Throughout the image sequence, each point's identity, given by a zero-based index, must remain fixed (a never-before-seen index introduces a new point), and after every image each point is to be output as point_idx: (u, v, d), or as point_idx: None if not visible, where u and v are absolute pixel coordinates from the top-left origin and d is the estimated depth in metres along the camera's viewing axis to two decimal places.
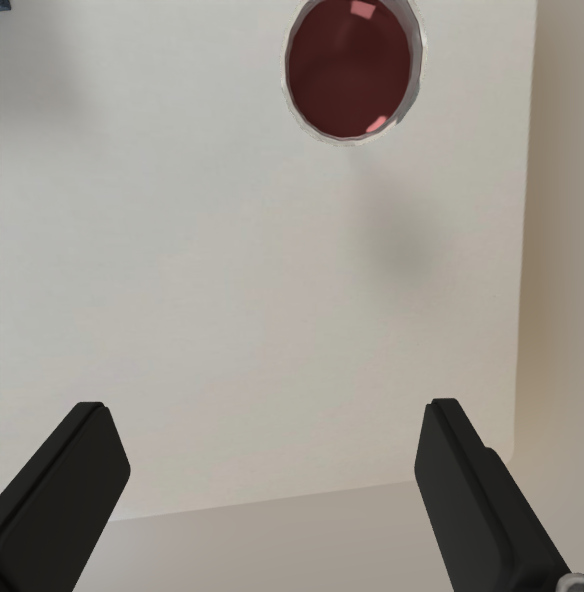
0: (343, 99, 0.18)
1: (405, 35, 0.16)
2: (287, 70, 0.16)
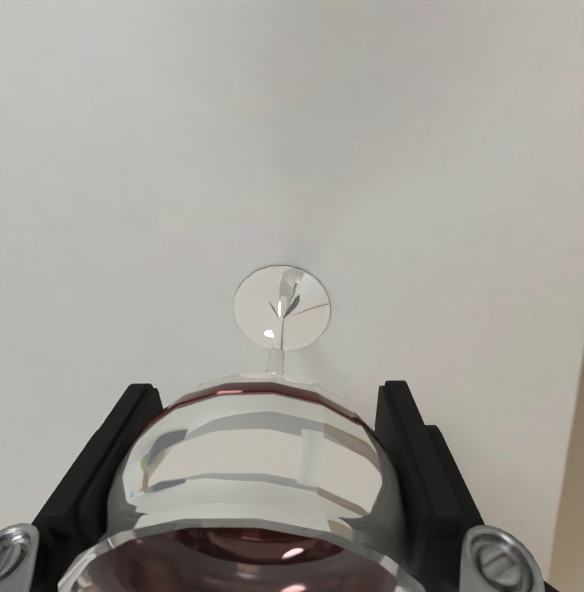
0: None
1: (383, 447, 0.07)
2: (104, 582, 0.07)
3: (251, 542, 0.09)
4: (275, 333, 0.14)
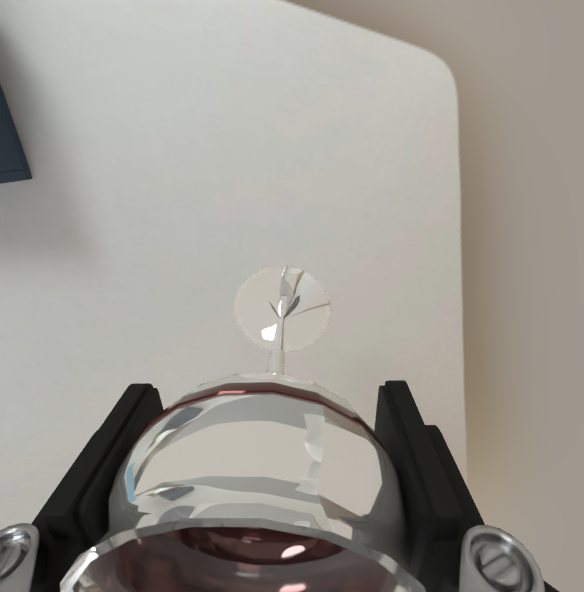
0: None
1: (384, 446, 0.07)
2: (105, 582, 0.07)
3: (252, 542, 0.09)
4: (275, 333, 0.15)
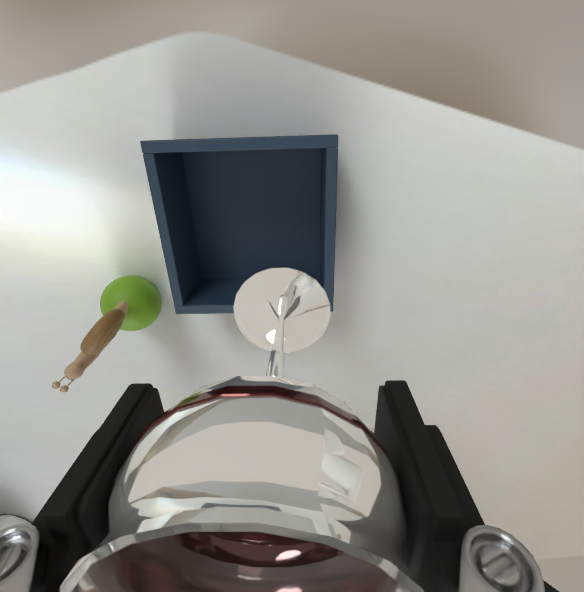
0: None
1: (383, 449, 0.07)
2: (105, 585, 0.07)
3: (252, 544, 0.09)
4: (275, 335, 0.15)
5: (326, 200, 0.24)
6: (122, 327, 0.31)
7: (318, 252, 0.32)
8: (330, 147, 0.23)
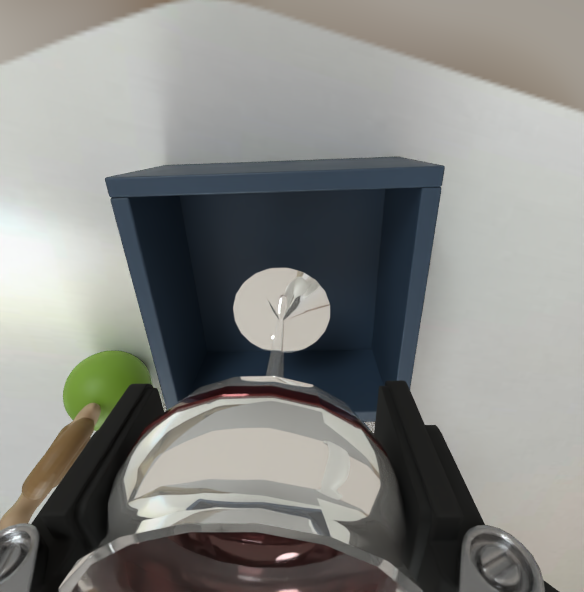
0: None
1: (383, 450, 0.07)
2: (103, 586, 0.07)
3: (251, 544, 0.09)
4: (275, 335, 0.15)
5: (412, 269, 0.15)
6: (94, 429, 0.22)
7: (371, 318, 0.23)
8: (428, 187, 0.13)
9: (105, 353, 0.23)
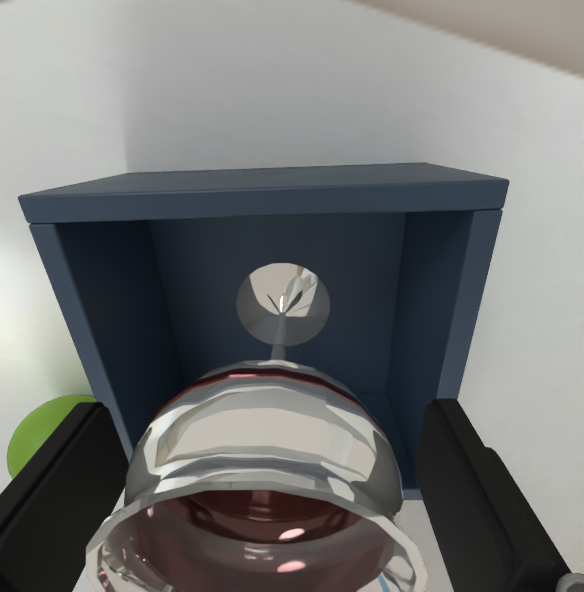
0: (265, 498, 0.09)
1: (381, 427, 0.08)
2: (123, 552, 0.07)
3: (257, 521, 0.10)
4: (277, 327, 0.15)
5: (454, 320, 0.11)
6: None
7: (386, 358, 0.19)
8: (483, 209, 0.09)
9: (62, 401, 0.19)
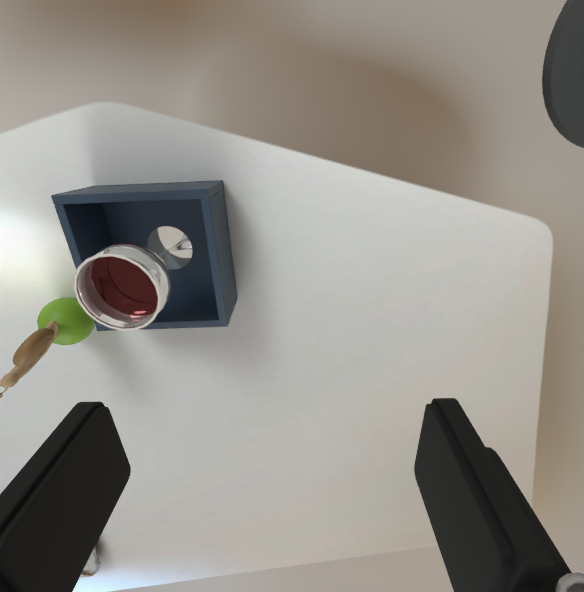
0: (133, 293, 0.28)
1: (162, 262, 0.27)
2: (84, 291, 0.26)
3: (132, 304, 0.29)
4: (160, 253, 0.34)
5: (207, 238, 0.30)
6: (56, 342, 0.36)
7: None
8: (203, 198, 0.28)
9: (63, 298, 0.37)
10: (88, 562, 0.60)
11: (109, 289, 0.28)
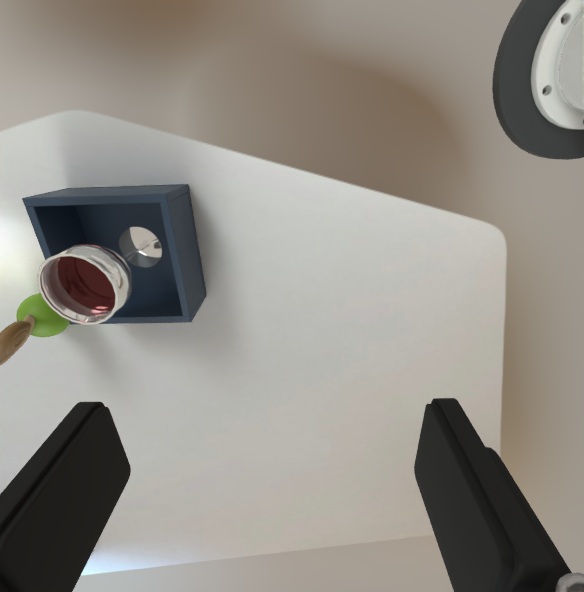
0: (97, 290, 0.30)
1: (121, 262, 0.29)
2: (49, 288, 0.28)
3: (97, 300, 0.31)
4: (129, 252, 0.36)
5: (167, 239, 0.32)
6: (34, 334, 0.39)
7: None
8: (163, 202, 0.30)
9: None
10: None
11: (74, 286, 0.30)
